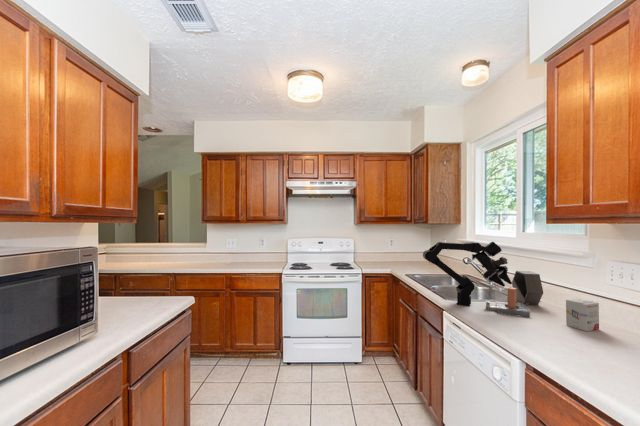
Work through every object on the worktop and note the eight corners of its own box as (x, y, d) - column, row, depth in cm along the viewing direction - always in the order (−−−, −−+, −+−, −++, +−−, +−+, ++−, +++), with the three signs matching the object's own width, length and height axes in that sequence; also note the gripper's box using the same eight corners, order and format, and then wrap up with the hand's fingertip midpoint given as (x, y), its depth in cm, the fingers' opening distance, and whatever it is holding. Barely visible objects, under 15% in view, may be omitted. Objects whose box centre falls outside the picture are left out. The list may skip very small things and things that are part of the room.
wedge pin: (507, 311, 161) (507, 288, 161) (510, 309, 164) (510, 287, 164) (513, 312, 159) (514, 289, 159) (516, 311, 162) (516, 288, 162)
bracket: (485, 309, 164) (485, 301, 164) (485, 308, 166) (485, 300, 166) (496, 310, 162) (496, 303, 162) (496, 309, 164) (496, 302, 164)
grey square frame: (496, 312, 159) (496, 307, 159) (495, 306, 171) (495, 301, 171) (529, 317, 152) (529, 312, 152) (526, 309, 165) (526, 305, 165)
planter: (509, 288, 192) (518, 263, 181) (523, 289, 191) (532, 264, 180) (520, 310, 178) (531, 284, 167) (535, 311, 177) (546, 285, 166)
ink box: (578, 323, 144) (578, 297, 144) (599, 329, 136) (599, 302, 136) (565, 324, 142) (565, 299, 142) (586, 331, 134) (586, 304, 134)
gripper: (489, 253, 161) (513, 277, 153) (503, 250, 173) (526, 273, 165) (474, 266, 167) (496, 290, 159) (488, 263, 179) (510, 285, 171)
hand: (507, 284), depth 163 cm, fingers open, 9 cm apart
